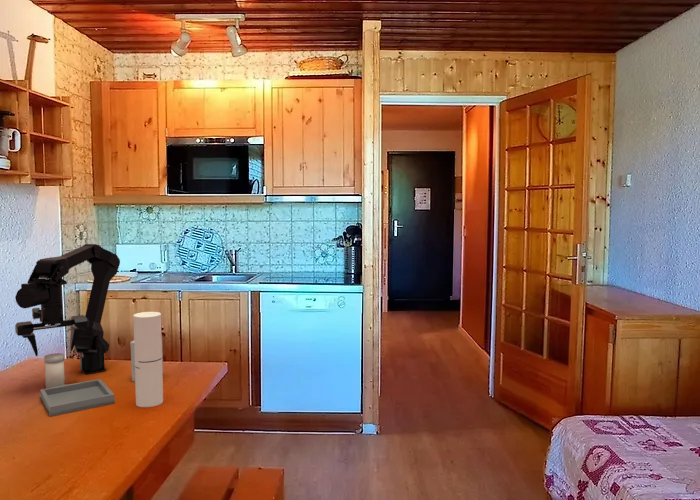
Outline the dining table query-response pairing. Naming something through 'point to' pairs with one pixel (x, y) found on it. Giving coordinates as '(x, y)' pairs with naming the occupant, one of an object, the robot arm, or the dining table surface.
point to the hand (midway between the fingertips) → (54, 353)
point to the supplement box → (134, 361)
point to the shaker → (54, 370)
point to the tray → (76, 397)
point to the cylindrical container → (148, 359)
